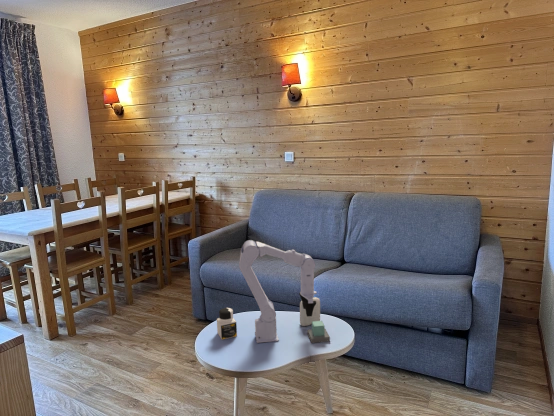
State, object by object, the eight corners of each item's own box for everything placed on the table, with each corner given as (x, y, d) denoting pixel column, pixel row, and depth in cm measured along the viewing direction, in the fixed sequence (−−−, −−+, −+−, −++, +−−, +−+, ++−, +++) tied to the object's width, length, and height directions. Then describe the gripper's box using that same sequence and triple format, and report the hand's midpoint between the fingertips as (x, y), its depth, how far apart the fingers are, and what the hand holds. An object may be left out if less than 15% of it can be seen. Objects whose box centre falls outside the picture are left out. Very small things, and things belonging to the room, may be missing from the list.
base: (311, 343, 161) (311, 338, 161) (307, 333, 169) (307, 329, 169) (329, 341, 162) (329, 336, 162) (324, 332, 170) (324, 328, 170)
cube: (314, 336, 163) (314, 326, 162) (311, 331, 167) (311, 321, 166) (324, 335, 163) (324, 325, 162) (321, 330, 168) (321, 320, 167)
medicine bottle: (221, 340, 166) (220, 314, 164) (217, 333, 172) (215, 308, 170) (237, 336, 168) (236, 311, 166) (232, 329, 175) (231, 305, 173)
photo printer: (316, 318, 183) (316, 294, 181) (321, 322, 180) (321, 297, 178) (298, 323, 179) (298, 299, 176) (303, 327, 175) (303, 302, 173)
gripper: (320, 288, 158) (320, 318, 160) (312, 276, 172) (312, 304, 175) (303, 289, 157) (303, 320, 160) (297, 277, 172) (297, 305, 174)
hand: (307, 312), depth 167 cm, fingers open, 7 cm apart
